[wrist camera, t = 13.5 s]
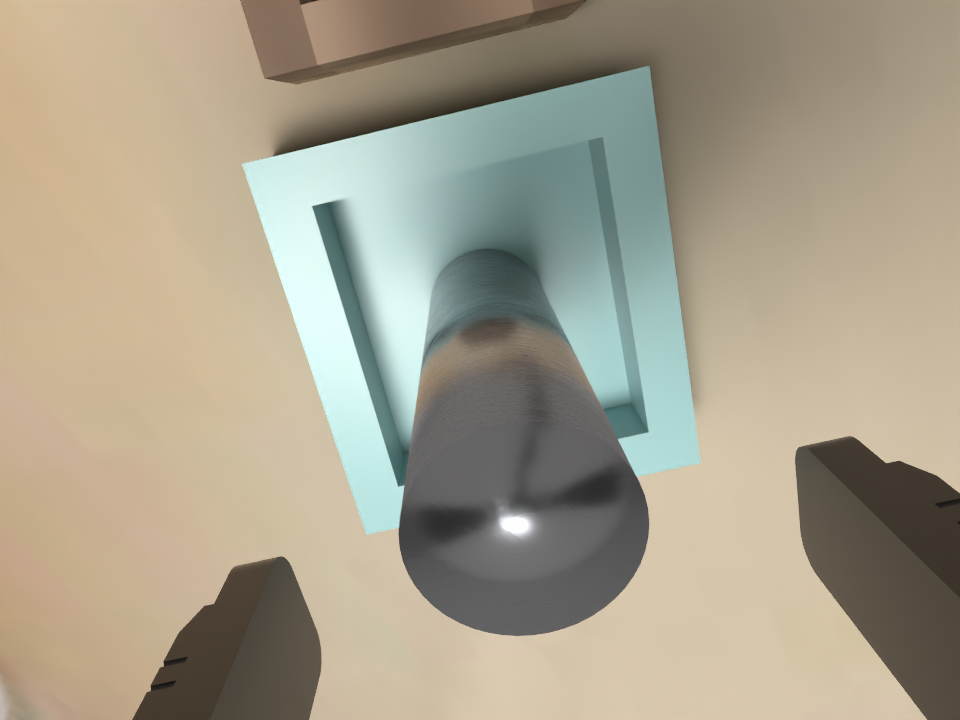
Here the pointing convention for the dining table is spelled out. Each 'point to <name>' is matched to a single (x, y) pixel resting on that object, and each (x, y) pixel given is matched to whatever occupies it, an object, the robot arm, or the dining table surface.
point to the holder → (378, 30)
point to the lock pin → (513, 462)
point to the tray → (484, 225)
